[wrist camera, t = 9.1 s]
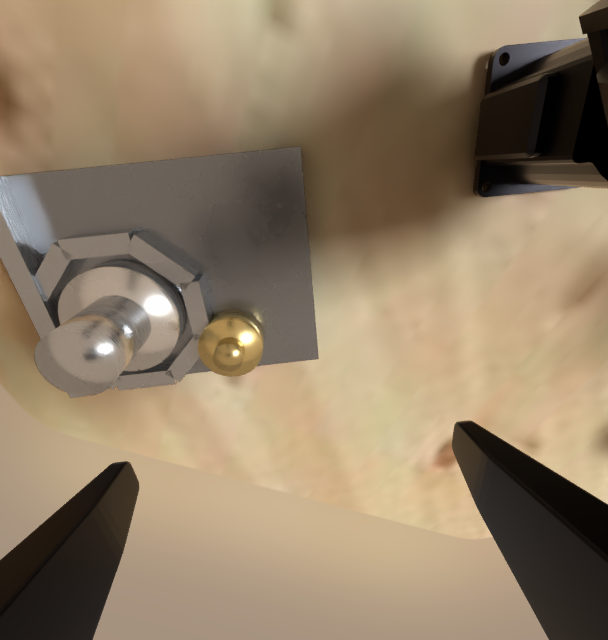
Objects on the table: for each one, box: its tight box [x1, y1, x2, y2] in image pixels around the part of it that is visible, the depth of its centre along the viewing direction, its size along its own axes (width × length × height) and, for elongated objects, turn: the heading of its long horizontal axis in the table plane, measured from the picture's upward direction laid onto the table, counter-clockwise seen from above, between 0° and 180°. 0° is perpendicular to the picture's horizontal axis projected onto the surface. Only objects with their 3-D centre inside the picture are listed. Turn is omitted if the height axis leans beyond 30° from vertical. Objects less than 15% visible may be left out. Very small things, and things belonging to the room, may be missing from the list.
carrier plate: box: [0, 147, 319, 398], centre depth 17 cm, size 15×12×4 cm
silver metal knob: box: [34, 261, 185, 396], centre depth 16 cm, size 6×6×6 cm
